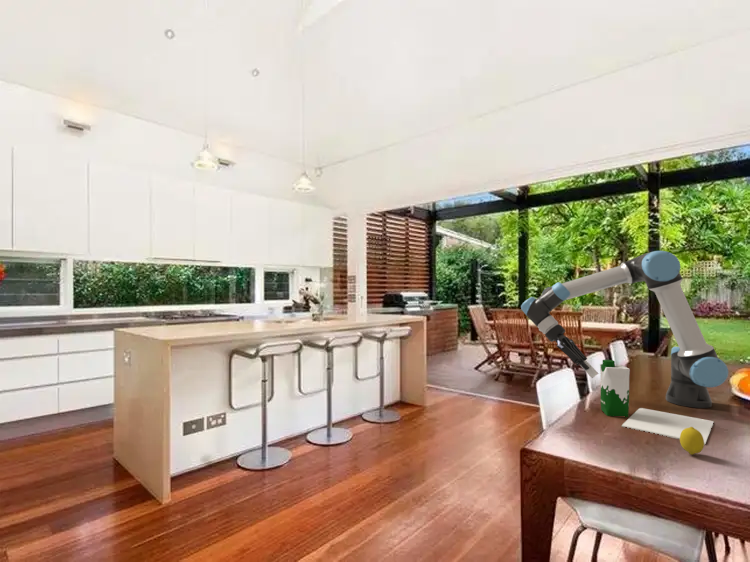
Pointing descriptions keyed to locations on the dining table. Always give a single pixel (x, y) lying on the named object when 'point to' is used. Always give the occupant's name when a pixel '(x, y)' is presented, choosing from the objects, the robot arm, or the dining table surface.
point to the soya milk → (614, 389)
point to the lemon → (691, 440)
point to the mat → (667, 423)
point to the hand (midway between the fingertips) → (595, 375)
